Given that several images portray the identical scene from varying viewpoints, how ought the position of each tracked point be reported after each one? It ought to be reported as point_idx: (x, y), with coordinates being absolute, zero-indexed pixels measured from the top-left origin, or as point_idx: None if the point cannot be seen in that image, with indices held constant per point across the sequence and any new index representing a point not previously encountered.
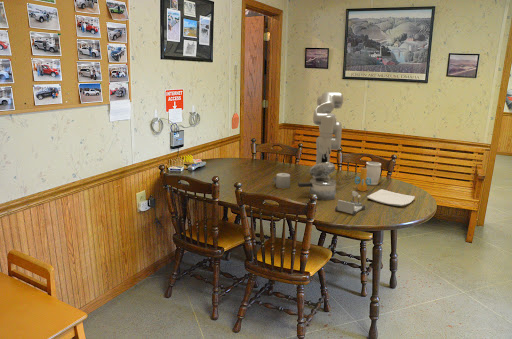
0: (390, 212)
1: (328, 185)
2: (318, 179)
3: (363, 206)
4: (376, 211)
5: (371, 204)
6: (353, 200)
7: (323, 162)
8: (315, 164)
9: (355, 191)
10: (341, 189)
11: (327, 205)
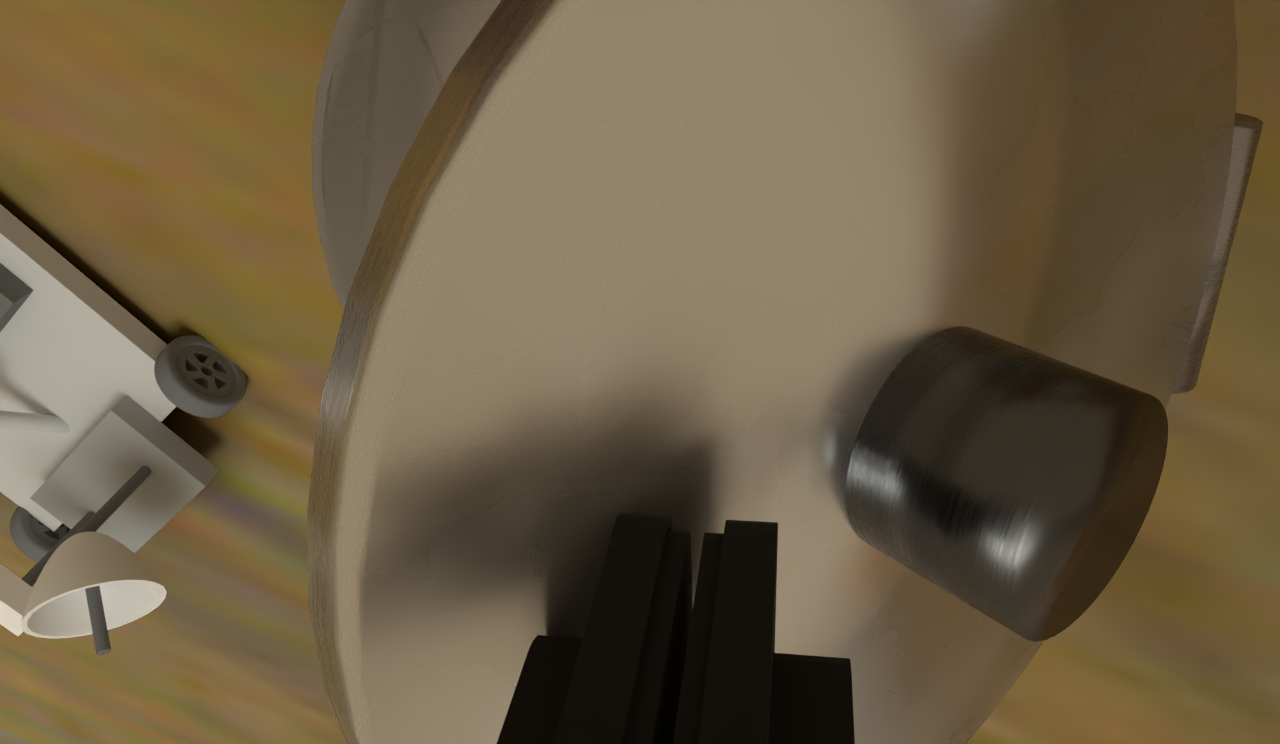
0: (40, 735)
1: (334, 249)
2: None
3: (11, 532)
4: None
5: (303, 685)
6: (125, 492)
7: (350, 616)
8: (562, 49)
9: (22, 622)
10: (1088, 616)
11: (148, 18)
